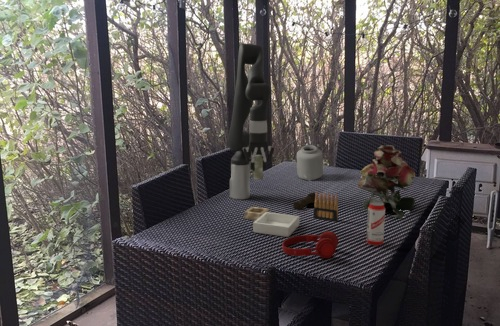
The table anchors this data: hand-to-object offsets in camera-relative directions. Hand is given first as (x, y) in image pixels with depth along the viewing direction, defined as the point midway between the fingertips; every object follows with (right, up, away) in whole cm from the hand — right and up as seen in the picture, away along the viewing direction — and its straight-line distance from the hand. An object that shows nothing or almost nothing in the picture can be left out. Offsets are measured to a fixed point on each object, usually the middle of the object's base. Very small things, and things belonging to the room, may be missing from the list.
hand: (258, 170), depth 214 cm
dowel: (0, -4, +1) cm, 4 cm away
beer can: (+44, -28, -26) cm, 58 cm away
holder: (-1, -21, +6) cm, 21 cm away
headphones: (+18, -30, -32) cm, 47 cm away
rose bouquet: (+59, -18, +19) cm, 65 cm away
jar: (+30, -6, +72) cm, 79 cm away
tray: (+7, -24, -9) cm, 27 cm away
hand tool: (+23, -17, +24) cm, 37 cm away
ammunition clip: (+29, -22, +2) cm, 37 cm away
